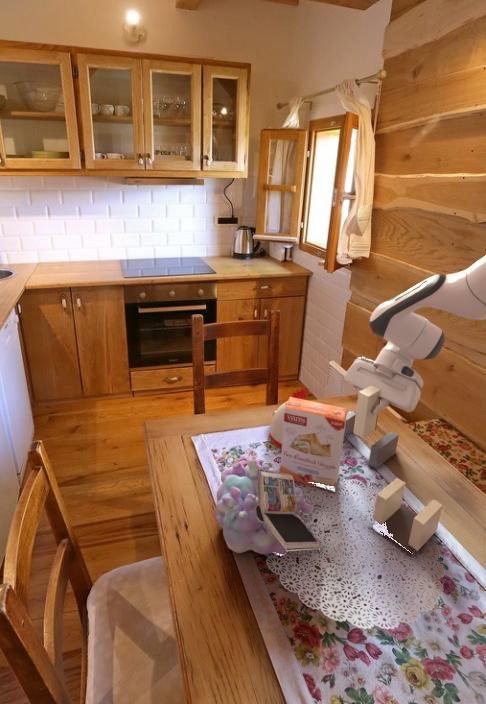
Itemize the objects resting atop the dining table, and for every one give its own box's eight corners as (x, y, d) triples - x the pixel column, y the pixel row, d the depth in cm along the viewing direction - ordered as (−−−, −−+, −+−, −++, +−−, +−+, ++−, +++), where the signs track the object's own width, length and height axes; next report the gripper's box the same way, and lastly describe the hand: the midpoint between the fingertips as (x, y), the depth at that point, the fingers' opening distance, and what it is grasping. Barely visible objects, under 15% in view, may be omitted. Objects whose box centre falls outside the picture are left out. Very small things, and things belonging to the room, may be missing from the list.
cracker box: (278, 478, 102) (283, 407, 95) (284, 463, 108) (289, 395, 100) (335, 494, 98) (345, 420, 90) (338, 477, 103) (348, 406, 95)
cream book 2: (436, 530, 86) (443, 505, 84) (417, 551, 81) (423, 524, 79) (427, 524, 88) (433, 499, 85) (408, 544, 83) (413, 518, 80)
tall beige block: (376, 429, 113) (382, 389, 109) (362, 438, 110) (368, 396, 105) (366, 424, 116) (371, 384, 111) (353, 433, 112) (358, 391, 107)
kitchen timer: (327, 438, 118) (332, 393, 113) (296, 458, 109) (300, 411, 104) (290, 417, 128) (293, 375, 123) (259, 434, 119) (261, 390, 114)
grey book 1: (355, 430, 121) (357, 413, 119) (334, 443, 115) (336, 426, 113) (349, 427, 123) (351, 410, 121) (328, 440, 117) (330, 422, 115)
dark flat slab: (435, 531, 88) (436, 526, 87) (411, 557, 82) (412, 552, 81) (395, 506, 94) (396, 501, 94) (371, 528, 88) (372, 523, 88)
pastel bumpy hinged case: (217, 469, 99) (211, 441, 85) (306, 468, 98) (315, 440, 84) (215, 565, 86) (208, 551, 72) (317, 566, 85) (330, 552, 71)
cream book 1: (400, 507, 92) (405, 482, 90) (381, 525, 87) (385, 499, 85) (392, 501, 93) (397, 477, 91) (372, 519, 89) (377, 494, 86)
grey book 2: (395, 453, 112) (399, 435, 110) (375, 468, 106) (378, 449, 104) (388, 449, 113) (392, 431, 111) (368, 464, 107) (371, 445, 105)
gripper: (354, 350, 118) (330, 390, 115) (424, 376, 102) (398, 423, 100) (361, 359, 122) (338, 398, 119) (429, 386, 106) (404, 431, 104)
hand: (366, 410), depth 110 cm, fingers closed on tall beige block, 3 cm apart
